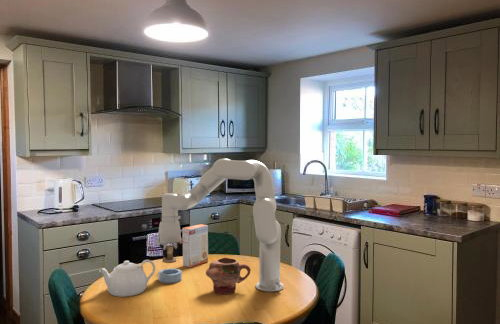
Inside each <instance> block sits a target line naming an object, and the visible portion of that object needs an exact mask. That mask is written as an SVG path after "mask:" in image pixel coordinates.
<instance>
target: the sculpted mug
mask: <svg viewBox="0 0 500 324" xmlns="http://www.w3.org/2000/svg"><path fill="white" fill-rule="evenodd" d="M242 269H245V270H246V271H247V273H246V274H245V276H241V271H242ZM250 274H251V267H250V266H249V265H248V264H245V263H239V261H238V260H237V259H234V258H231V257H221V258H218V259H215V260H213V261H211V262H210V264H209V266H208V267H207V269H206V271H205V275H206V276H207V277H208V278H209V279H210V280H211V281H212V283H213V284H212V285H213V292H214V293H216V294H218V295H231V294H234V293H235V291H236V289H237V284H240V283H242V282H244V281H245V280H246V279H247V278H248V277H249V276H250Z"/></svg>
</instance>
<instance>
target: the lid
mask: <svg viewBox="0 0 500 324" xmlns="http://www.w3.org/2000/svg"><path fill="white" fill-rule="evenodd" d="M166 250H167V258H165V257H163V258H162V263H164V264H174V263H176V262H177V258H176V256H175V257H173V245H166Z"/></svg>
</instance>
